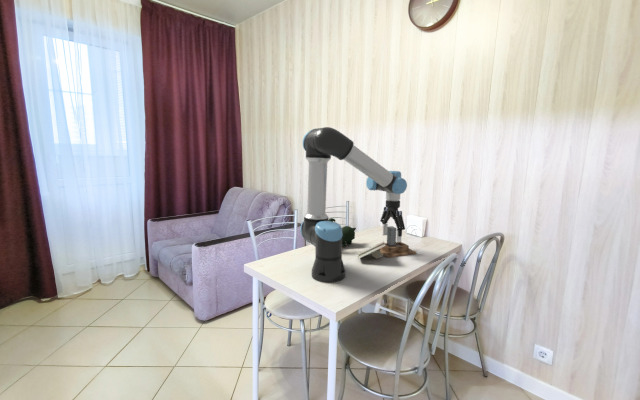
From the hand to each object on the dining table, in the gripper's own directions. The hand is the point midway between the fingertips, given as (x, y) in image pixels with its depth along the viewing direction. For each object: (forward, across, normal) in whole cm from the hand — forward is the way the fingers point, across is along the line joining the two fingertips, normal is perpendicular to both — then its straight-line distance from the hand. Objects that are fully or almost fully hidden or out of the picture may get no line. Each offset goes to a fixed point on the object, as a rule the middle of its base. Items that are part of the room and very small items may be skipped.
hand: (391, 238), depth 162 cm
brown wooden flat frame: (+8, 0, -2) cm, 8 cm away
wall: (+8, -5, +15) cm, 18 cm away
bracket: (+7, 0, -3) cm, 7 cm away
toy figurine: (+8, +19, +22) cm, 30 cm away
